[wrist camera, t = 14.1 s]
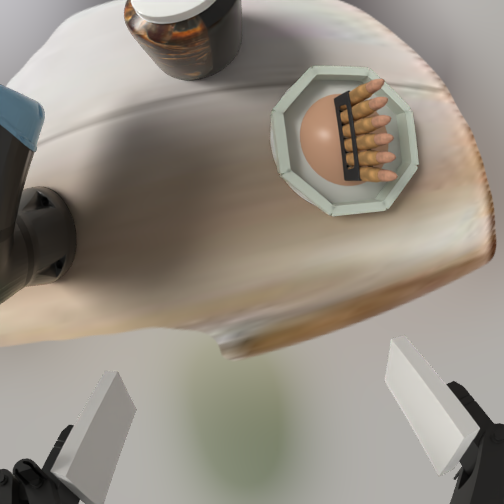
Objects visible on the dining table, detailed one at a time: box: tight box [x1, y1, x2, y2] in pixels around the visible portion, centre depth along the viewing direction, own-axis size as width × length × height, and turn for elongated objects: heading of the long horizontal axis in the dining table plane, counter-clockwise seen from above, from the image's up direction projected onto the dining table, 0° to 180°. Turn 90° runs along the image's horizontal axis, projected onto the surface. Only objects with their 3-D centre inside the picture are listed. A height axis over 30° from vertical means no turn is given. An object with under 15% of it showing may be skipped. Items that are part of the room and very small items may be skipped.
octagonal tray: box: [270, 66, 419, 216], centre depth 33 cm, size 19×19×4 cm
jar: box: [124, 0, 242, 80], centre depth 23 cm, size 12×12×15 cm
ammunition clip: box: [334, 79, 398, 183], centre depth 27 cm, size 11×2×12 cm, turn 7°
